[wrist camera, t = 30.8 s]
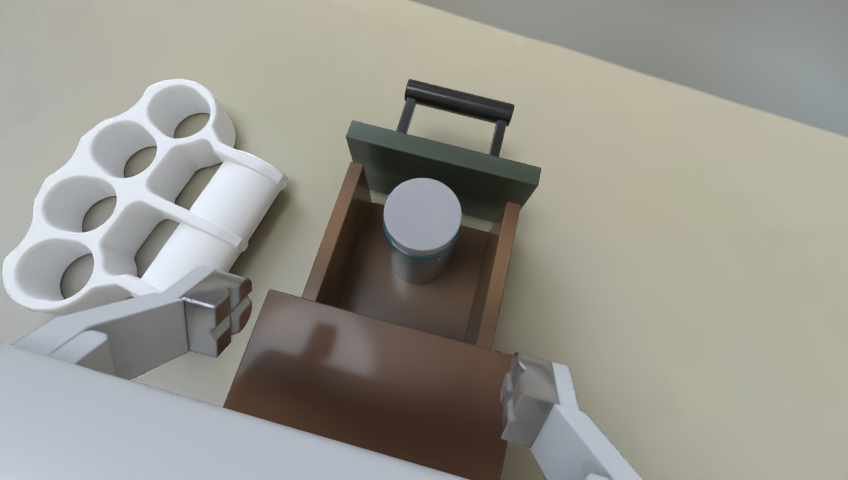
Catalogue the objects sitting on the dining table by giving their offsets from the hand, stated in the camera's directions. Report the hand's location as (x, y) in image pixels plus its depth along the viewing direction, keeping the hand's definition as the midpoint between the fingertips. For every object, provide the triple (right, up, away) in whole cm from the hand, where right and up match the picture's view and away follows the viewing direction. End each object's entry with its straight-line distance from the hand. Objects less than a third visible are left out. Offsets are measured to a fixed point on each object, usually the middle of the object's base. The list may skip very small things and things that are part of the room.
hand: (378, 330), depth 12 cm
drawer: (+1, +1, +16) cm, 16 cm away
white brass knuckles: (-18, +5, +18) cm, 25 cm away
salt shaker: (+1, +2, +15) cm, 15 cm away
